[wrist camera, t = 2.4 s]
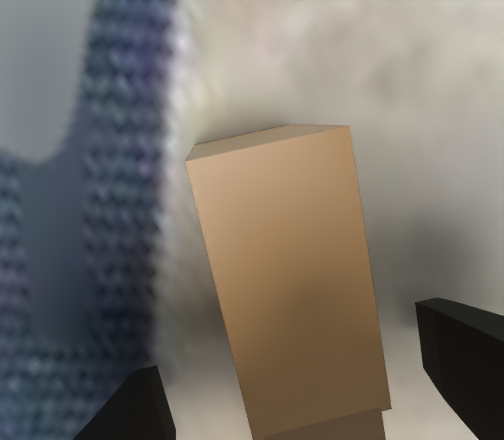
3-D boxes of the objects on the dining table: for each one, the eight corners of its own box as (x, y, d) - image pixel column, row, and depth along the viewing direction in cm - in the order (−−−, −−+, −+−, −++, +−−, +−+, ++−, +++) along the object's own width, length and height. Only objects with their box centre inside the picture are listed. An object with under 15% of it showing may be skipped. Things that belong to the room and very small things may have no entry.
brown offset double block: (289, 124, 12) (349, 126, 7) (357, 493, 14) (432, 681, 10) (194, 145, 11) (184, 161, 7) (282, 513, 14) (320, 713, 9)
